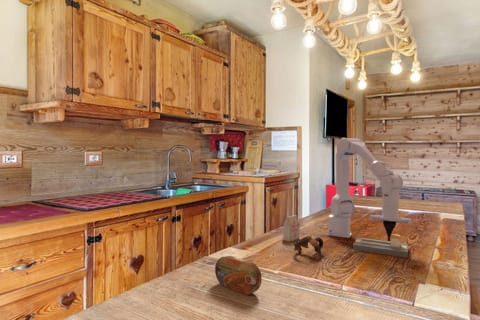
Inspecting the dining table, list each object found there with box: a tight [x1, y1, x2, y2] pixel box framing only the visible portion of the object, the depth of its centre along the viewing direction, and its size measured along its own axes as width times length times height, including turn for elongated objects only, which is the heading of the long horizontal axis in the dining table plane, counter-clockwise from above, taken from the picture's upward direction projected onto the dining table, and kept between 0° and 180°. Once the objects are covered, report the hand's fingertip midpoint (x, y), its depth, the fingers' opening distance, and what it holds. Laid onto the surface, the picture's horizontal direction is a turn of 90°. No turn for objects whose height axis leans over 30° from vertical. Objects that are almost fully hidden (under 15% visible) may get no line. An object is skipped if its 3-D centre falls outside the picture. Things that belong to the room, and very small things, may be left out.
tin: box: [214, 255, 262, 296], centre depth 90 cm, size 15×3×8 cm, turn 50°
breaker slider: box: [390, 233, 401, 247], centre depth 126 cm, size 3×4×4 cm
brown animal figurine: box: [293, 235, 324, 261], centre depth 120 cm, size 12×10×8 cm
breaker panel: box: [352, 236, 409, 259], centre depth 128 cm, size 19×12×3 cm, turn 64°
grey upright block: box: [282, 214, 301, 242], centre depth 140 cm, size 4×7×10 cm, turn 135°
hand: (388, 240), depth 127 cm, fingers closed
